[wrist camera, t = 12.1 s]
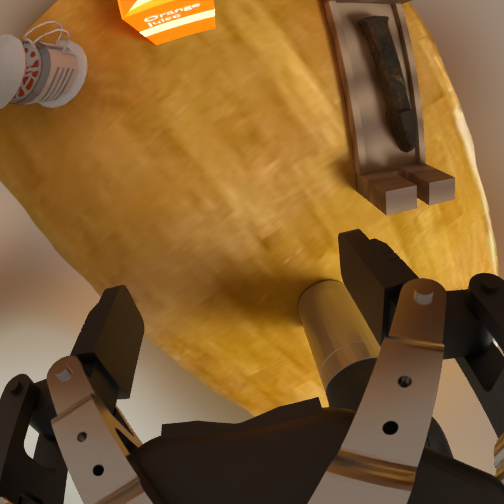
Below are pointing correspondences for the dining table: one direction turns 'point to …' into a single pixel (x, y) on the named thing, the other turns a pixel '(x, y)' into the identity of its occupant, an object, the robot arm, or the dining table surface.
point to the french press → (40, 70)
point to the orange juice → (168, 17)
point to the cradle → (382, 111)
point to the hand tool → (391, 82)
